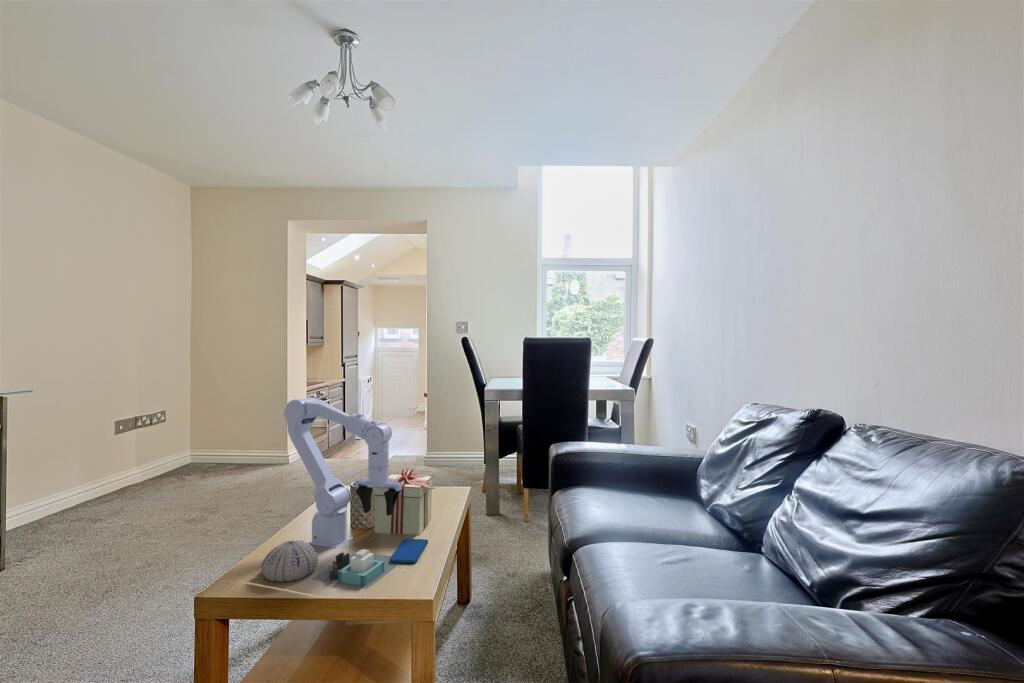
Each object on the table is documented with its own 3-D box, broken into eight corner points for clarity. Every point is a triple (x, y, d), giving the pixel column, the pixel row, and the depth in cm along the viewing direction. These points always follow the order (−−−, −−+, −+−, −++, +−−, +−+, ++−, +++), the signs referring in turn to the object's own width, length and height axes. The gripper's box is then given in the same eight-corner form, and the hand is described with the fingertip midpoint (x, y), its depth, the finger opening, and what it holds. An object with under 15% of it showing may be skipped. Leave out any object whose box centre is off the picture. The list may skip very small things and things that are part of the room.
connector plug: (350, 579, 122) (350, 554, 122) (361, 571, 126) (361, 547, 127) (362, 581, 121) (362, 556, 121) (373, 573, 125) (373, 549, 125)
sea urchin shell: (326, 562, 133) (326, 532, 133) (305, 586, 120) (305, 553, 120) (276, 562, 133) (277, 532, 133) (250, 586, 120) (250, 553, 120)
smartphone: (388, 559, 131) (404, 538, 146) (388, 563, 131) (404, 542, 146) (416, 560, 131) (428, 539, 146) (416, 564, 131) (428, 542, 146)
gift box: (432, 536, 151) (432, 479, 152) (372, 536, 152) (372, 479, 152) (441, 517, 168) (441, 466, 169) (387, 517, 169) (387, 466, 169)
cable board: (311, 580, 122) (311, 565, 122) (356, 552, 139) (356, 539, 139) (366, 590, 117) (366, 575, 117) (406, 560, 134) (406, 546, 134)
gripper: (348, 467, 143) (348, 514, 143) (392, 471, 138) (392, 520, 138) (363, 462, 150) (363, 507, 150) (405, 465, 145) (405, 512, 145)
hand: (378, 513), depth 144 cm, fingers open, 7 cm apart
